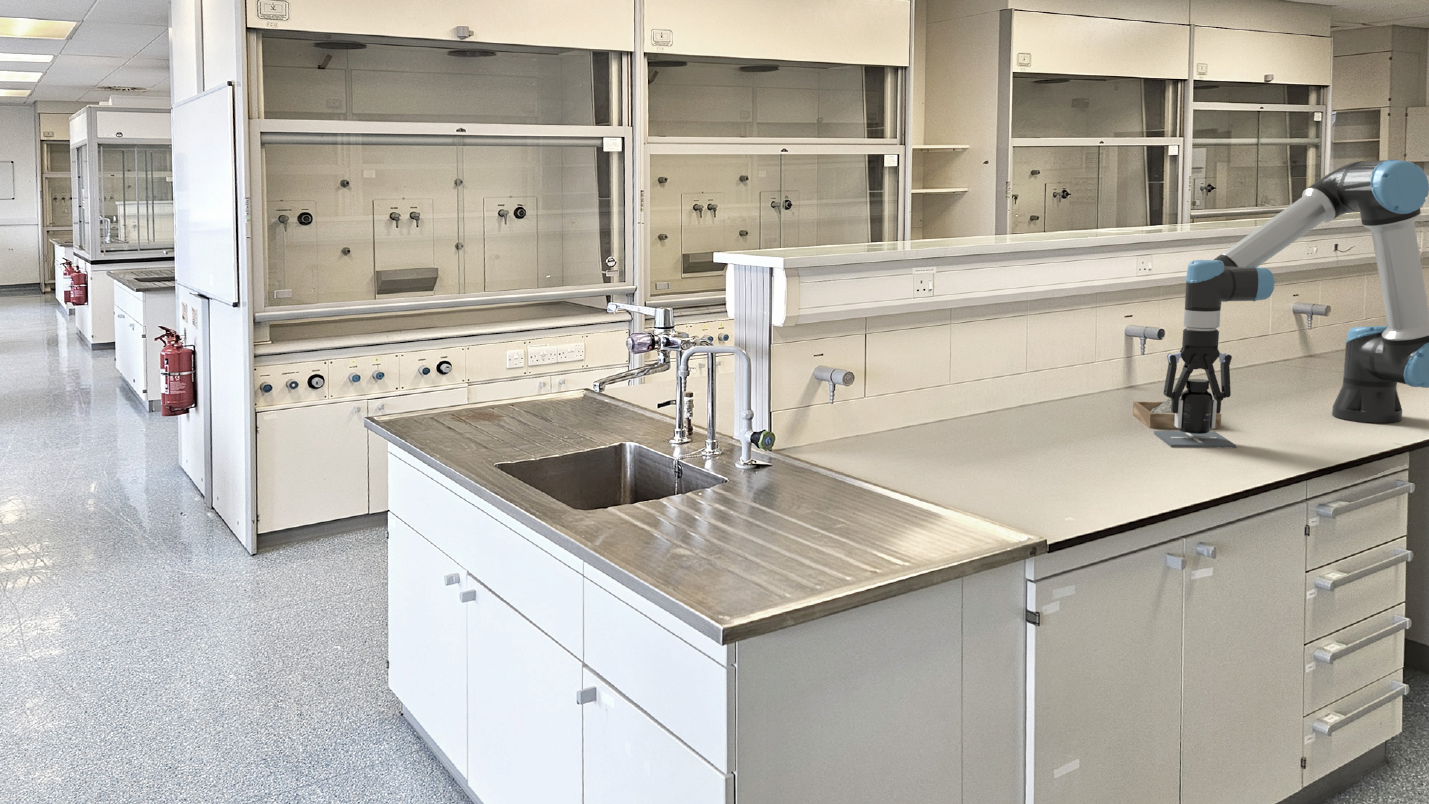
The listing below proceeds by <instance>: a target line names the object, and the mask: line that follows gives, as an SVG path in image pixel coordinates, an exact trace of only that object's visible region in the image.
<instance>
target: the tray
mask: <svg viewBox="0 0 1429 804" xmlns="http://www.w3.org/2000/svg"><path fill="white" fill-rule="evenodd" d="M1164 402H1165V401H1133V403H1132V416H1133V417H1135V418H1136V419H1137V420H1139V421H1140V423H1142V424H1144V425H1145V426H1147V427H1148V428H1149V429H1178V428H1177V427H1175V426H1174V422H1175V413H1152V412H1150V411H1151V410H1152V409H1153V408H1156V407H1158V406H1160V405H1161V404H1162V403H1164ZM1221 421H1222V414H1221V412H1220V413H1216V423H1215V428H1214V429H1221V427H1222V426H1221V423H1222V422H1221Z"/></svg>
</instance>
